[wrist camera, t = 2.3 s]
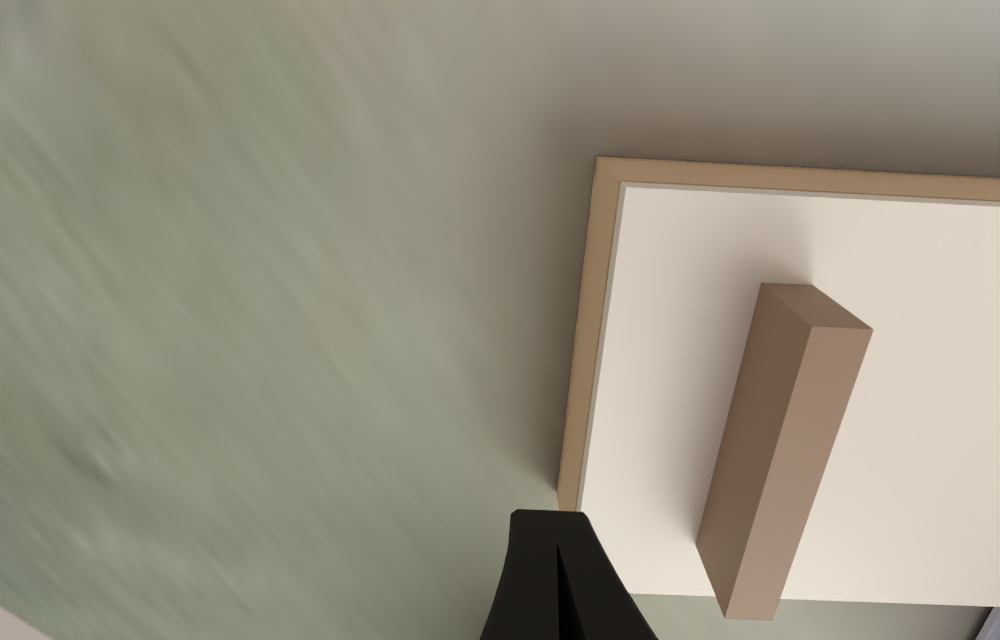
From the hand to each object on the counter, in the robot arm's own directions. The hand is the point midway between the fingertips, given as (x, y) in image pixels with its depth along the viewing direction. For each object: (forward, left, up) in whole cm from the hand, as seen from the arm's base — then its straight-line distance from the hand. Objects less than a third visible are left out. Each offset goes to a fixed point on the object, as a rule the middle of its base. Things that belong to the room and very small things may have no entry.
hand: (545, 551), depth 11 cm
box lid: (0, -12, -5) cm, 13 cm away
